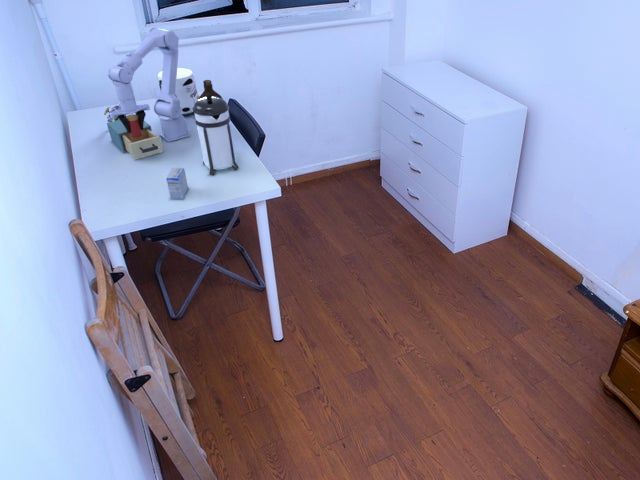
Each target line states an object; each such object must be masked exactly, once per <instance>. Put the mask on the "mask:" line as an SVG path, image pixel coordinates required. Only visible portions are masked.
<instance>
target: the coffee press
mask: <svg viewBox="0 0 640 480" xmlns="http://www.w3.org/2000/svg"><path fill="white" fill-rule="evenodd" d="M205 97H206V98H202V99H199V100H198V101H196V102H195V104H194V106H193V112H194V113H193V114H194V122H195V125H196V128H197V134H198V138H199V144H200V149H201V154H202V160H203V161H202V165H204V166H206V168H208V169H209V172H208V173H209V175H211V176H215V173H216V171H217V170H218V171H219V170H220V171H221V170H226V169H229V168H232V169H233V170H234V171H237V170H239V169H240V166H239V165H238V164H237V162H236V161H237V157H236V152H235V145H234V139H233V131H232V125H231V115H230V112H229V109H230V105H229V104H228V102H227V101H226V100H225V99H224V98H223V99H221V98H218V97H212V95H211V94H210V93H207V94H206V96H205Z"/></svg>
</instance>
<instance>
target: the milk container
mask: <svg viewBox="0 0 640 480" xmlns="http://www.w3.org/2000/svg"><path fill="white" fill-rule="evenodd" d="M162 71H163V70H161V71H159V72H158V73H157V81H158V86H159V90H160V91H161V85H162ZM196 85H197V84H196V80H195V75H194V72H193V71H192V70H191V69H189V68H184V67H177V77H176V90H175V96H176V97H177V98H178V99H179V101H180V107H181V114H182V115H183V116H188V115H191V114H195V113H194V112H193V106H194V104H195V102H196V101H198V99H199V97H200V94H199V92H198V90H197V86H196ZM166 102H169V101H166Z"/></svg>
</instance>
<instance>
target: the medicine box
mask: <svg viewBox="0 0 640 480" xmlns="http://www.w3.org/2000/svg"><path fill="white" fill-rule="evenodd" d="M166 183H167V189H168V193H169V197H170V199H171V200H184V198H185V196H186V194H187V191H188V189H189V184H188V180H187V175H186V170H185V168H184V167H171V169H170V171H169V173H168V175H167V177H166Z"/></svg>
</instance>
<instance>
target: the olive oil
mask: <svg viewBox="0 0 640 480" xmlns="http://www.w3.org/2000/svg"><path fill="white" fill-rule="evenodd" d="M202 83H203V89H204V90H203V92H202V93H201V94H199V99H202V98H206V97H205V96H206V94H207V93H210V94H211V95H212V97H218V98H221V99H223V100H224V98H223V96H222V95H220V93H218V92H217V91H215V89H214V88H213V83H212V80H210V79H205V80H203V81H202ZM199 99H198V100H199Z"/></svg>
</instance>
